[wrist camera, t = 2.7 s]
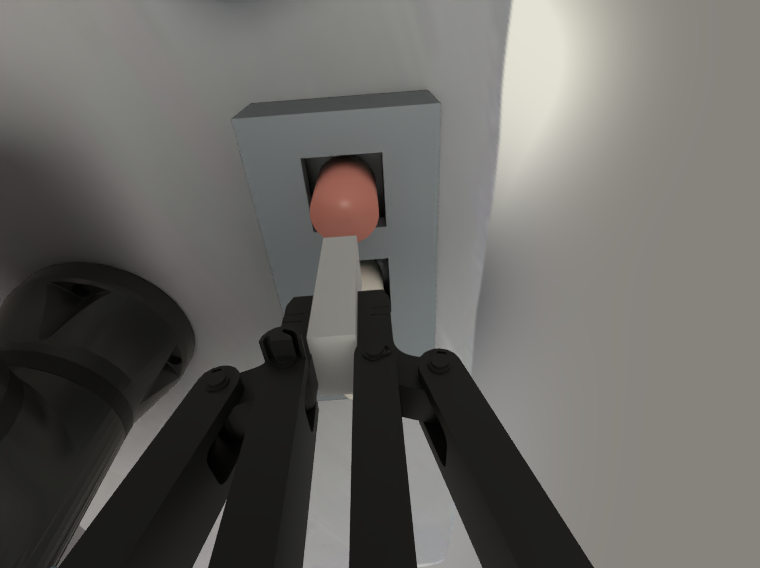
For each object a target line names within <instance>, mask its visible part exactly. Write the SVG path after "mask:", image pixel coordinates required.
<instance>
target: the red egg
mask: <svg viewBox="0 0 760 568" xmlns="http://www.w3.org/2000/svg"><path fill="white" fill-rule="evenodd" d="M310 218H311V222H312V224H313V226H314V228H315V229H316V231H317V232H318V233H319V234H320V235H321V236H322V237H324V238H328V237H341V236H355V235H357V242H360V241H362V240H364V239H365V238H367V237H368V236H369V235H370V234H371V233H372V232H373V231H374V229H375V227H376V225H377V223H378V219H379V207H378V198H377V189H376V180H375V176H374V173H373V171H372V169H371V168H370V167H369V165H368V164H367V163H366V162H364V161H363V160H361V159H360V158H357V157H355V156H351V155H341V156H336V157H334V158H332V159H330V160H328V161H327V162H326V163H325V164H324V165H323V166H322V168H321V169H320V171H319V174H318V177H317V181H316V185H315V189H314V193H313V197H312V201H311V205H310Z"/></svg>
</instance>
